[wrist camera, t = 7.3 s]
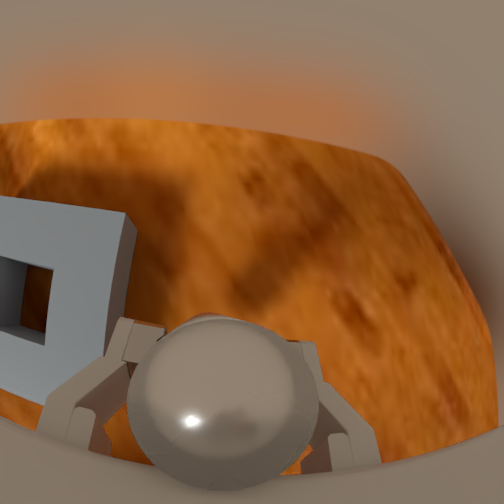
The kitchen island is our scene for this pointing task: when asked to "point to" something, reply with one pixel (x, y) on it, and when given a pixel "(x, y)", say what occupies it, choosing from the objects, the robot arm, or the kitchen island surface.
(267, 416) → the steel pin
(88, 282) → the socket block
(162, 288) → the kitchen island surface
